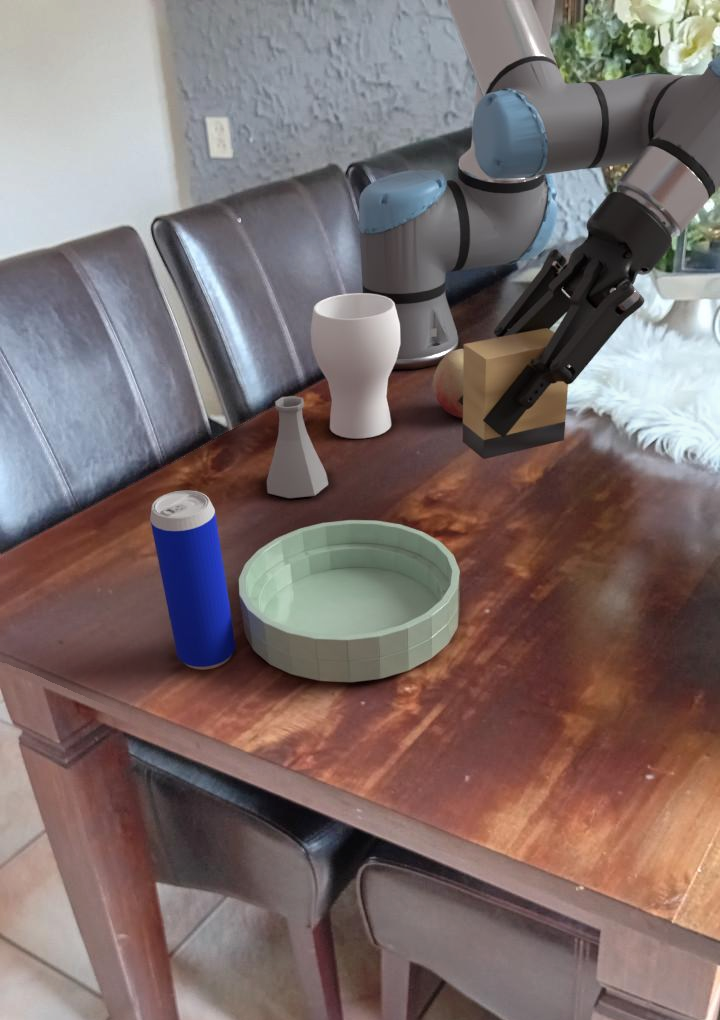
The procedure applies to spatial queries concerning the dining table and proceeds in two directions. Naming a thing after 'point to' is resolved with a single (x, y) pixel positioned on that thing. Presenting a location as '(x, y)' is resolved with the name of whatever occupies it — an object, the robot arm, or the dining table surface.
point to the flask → (294, 455)
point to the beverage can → (193, 578)
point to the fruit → (450, 382)
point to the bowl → (350, 600)
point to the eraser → (490, 378)
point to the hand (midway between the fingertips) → (480, 418)
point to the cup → (356, 359)
